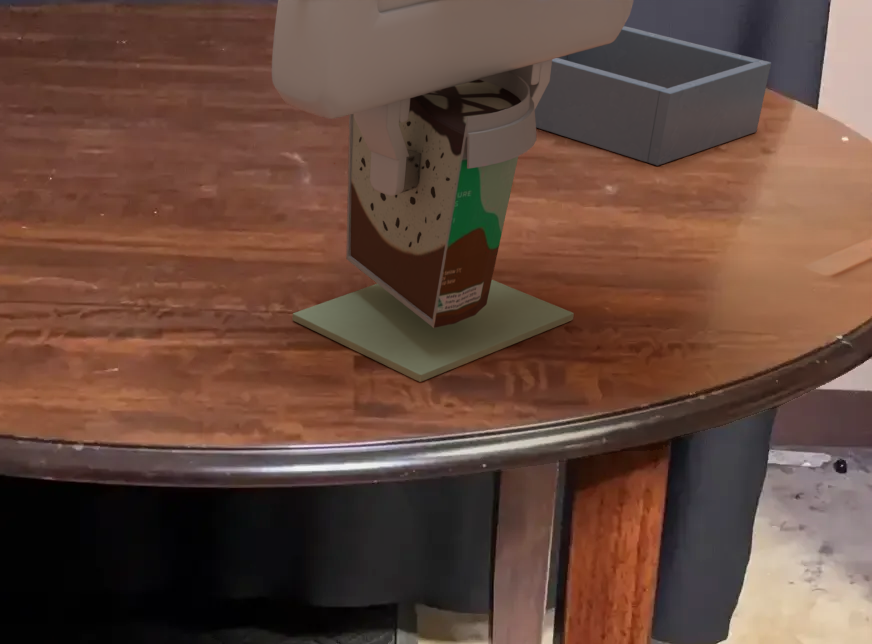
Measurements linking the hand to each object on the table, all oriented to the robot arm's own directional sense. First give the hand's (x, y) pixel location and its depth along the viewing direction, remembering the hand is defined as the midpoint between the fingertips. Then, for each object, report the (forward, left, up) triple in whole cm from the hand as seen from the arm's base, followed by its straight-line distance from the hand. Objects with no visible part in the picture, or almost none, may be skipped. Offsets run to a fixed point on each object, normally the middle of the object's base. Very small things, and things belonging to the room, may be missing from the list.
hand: (448, 172), depth 72 cm
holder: (+16, -33, -8) cm, 37 cm away
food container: (0, 0, -6) cm, 6 cm away
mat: (0, 0, -8) cm, 8 cm away
